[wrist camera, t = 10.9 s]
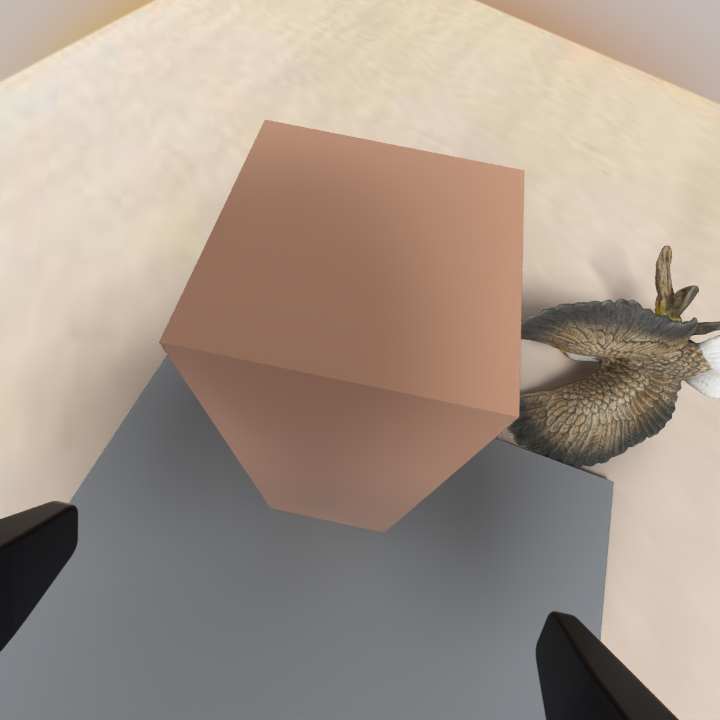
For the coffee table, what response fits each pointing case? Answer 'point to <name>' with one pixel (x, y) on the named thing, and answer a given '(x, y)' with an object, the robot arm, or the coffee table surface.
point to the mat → (302, 589)
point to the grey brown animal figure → (616, 373)
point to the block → (356, 321)
